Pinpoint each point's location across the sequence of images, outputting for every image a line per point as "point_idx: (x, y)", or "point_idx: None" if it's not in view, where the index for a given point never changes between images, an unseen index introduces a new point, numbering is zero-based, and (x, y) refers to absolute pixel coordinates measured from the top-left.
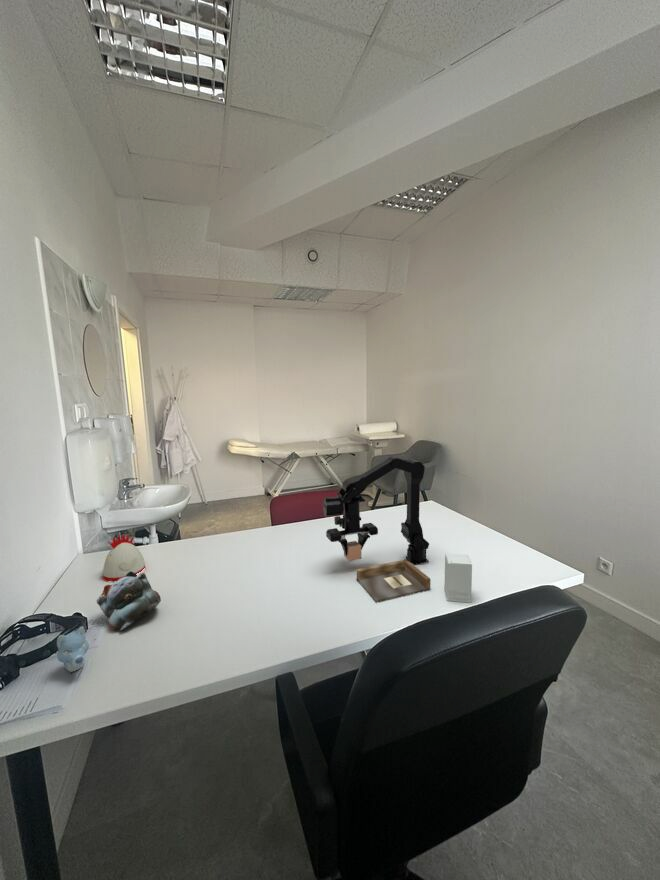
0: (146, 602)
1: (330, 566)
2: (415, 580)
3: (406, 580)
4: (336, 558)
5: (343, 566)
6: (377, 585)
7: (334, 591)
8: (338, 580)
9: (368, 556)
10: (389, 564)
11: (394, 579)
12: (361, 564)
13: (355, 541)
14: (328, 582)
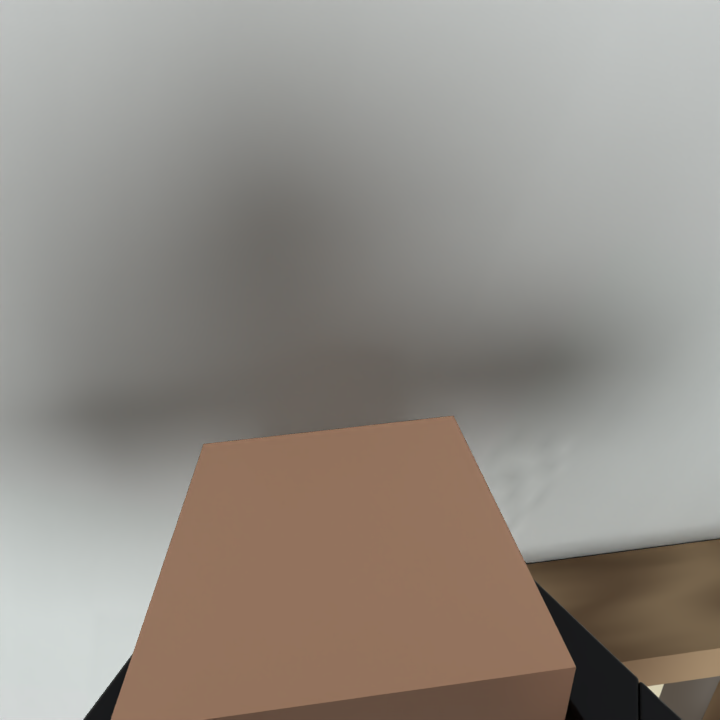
0: None
1: (37, 275)
2: (708, 689)
3: (653, 689)
4: (160, 3)
5: (231, 324)
6: None
7: (75, 688)
8: (125, 572)
9: (697, 126)
10: (678, 675)
11: None
12: (477, 335)
13: (535, 701)
14: (17, 585)
